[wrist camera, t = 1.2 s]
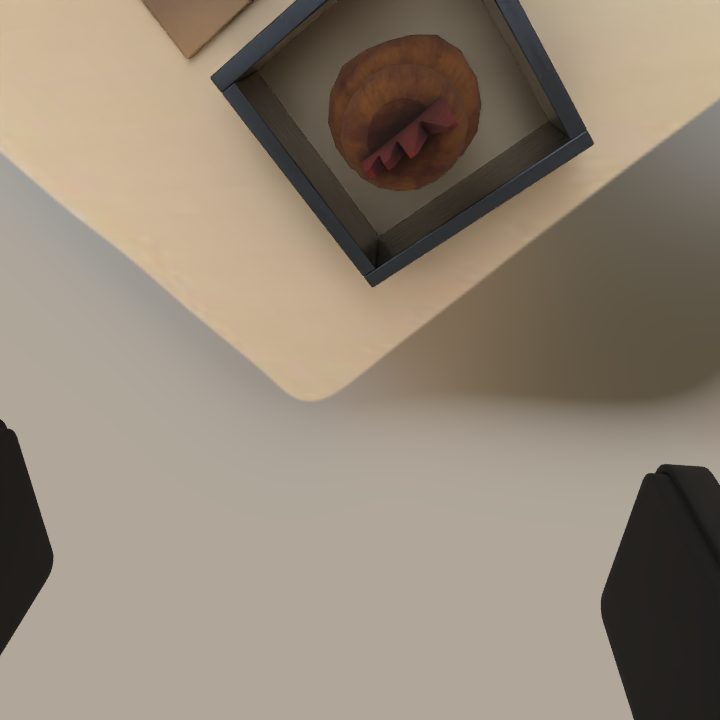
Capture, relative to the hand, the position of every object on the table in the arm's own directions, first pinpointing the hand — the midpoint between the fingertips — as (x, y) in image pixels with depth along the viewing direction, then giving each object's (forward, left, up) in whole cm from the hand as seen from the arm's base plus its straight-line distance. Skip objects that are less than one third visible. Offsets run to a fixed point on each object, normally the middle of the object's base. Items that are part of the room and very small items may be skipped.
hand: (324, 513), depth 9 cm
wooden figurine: (-1, +2, -28) cm, 28 cm away
